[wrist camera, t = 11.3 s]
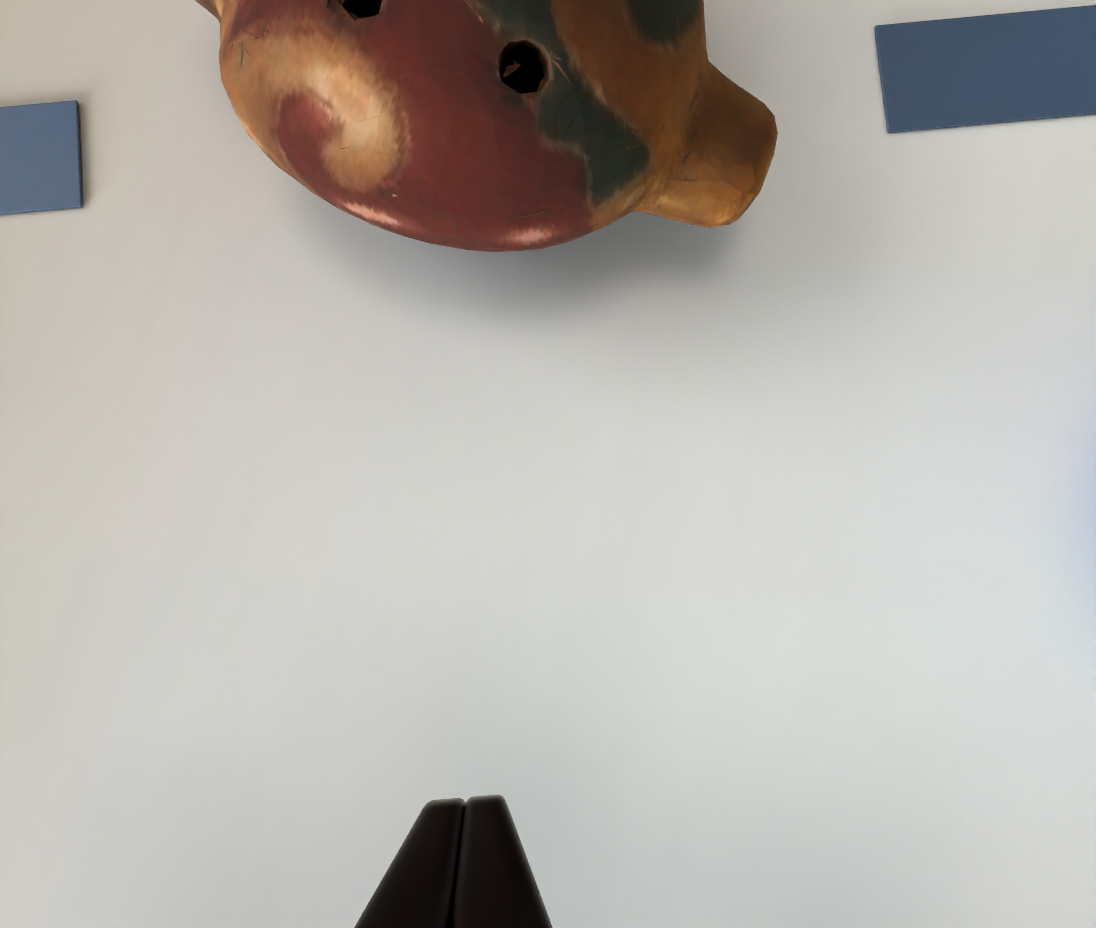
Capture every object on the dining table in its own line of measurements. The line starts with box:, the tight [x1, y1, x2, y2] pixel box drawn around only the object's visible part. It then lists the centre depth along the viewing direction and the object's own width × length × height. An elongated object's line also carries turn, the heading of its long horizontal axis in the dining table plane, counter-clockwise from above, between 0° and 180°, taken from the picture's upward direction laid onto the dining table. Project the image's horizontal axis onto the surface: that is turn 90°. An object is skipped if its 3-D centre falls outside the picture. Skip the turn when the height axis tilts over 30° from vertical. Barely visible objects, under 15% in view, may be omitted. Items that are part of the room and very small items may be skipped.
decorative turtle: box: [195, 0, 778, 252], centre depth 17 cm, size 10×15×8 cm, turn 72°
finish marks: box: [0, 5, 1096, 214], centre depth 21 cm, size 3×38×1 cm, turn 95°
